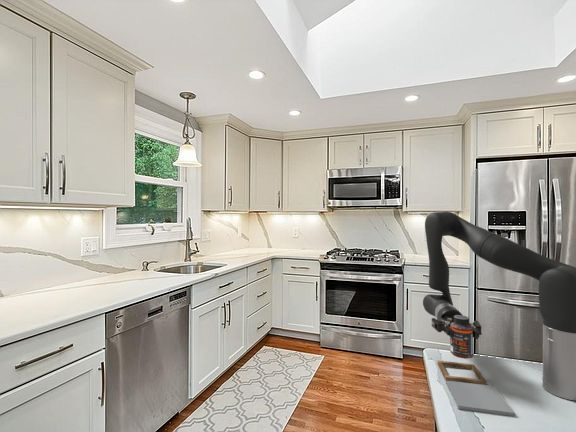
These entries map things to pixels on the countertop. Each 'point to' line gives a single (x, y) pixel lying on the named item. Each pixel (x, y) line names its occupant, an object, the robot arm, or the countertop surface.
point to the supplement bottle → (461, 337)
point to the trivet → (478, 398)
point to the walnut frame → (480, 379)
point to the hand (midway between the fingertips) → (464, 334)
